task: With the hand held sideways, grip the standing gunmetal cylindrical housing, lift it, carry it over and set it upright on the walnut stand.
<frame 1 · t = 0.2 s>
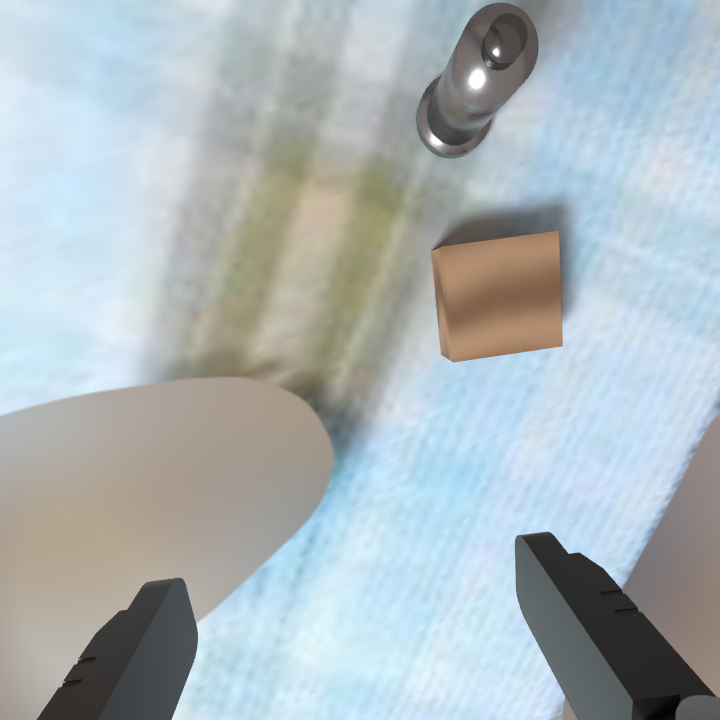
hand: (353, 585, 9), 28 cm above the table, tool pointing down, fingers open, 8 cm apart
stand: (486, 296, 37), on the table
housing: (452, 119, 33), on the table
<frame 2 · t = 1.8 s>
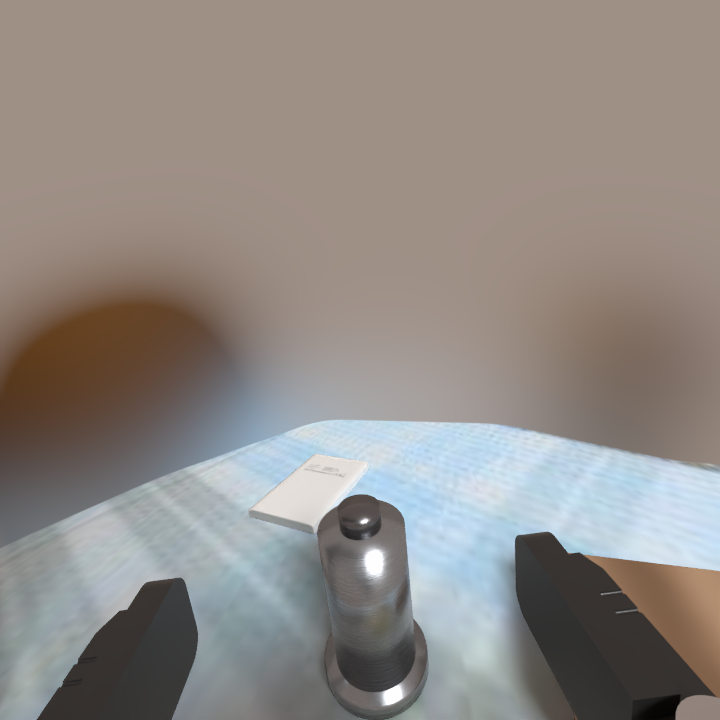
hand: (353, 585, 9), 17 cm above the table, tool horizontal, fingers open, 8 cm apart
external hard drive: (315, 496, 43), on the table
stand: (666, 690, 21), on the table
housing: (377, 661, 24), on the table
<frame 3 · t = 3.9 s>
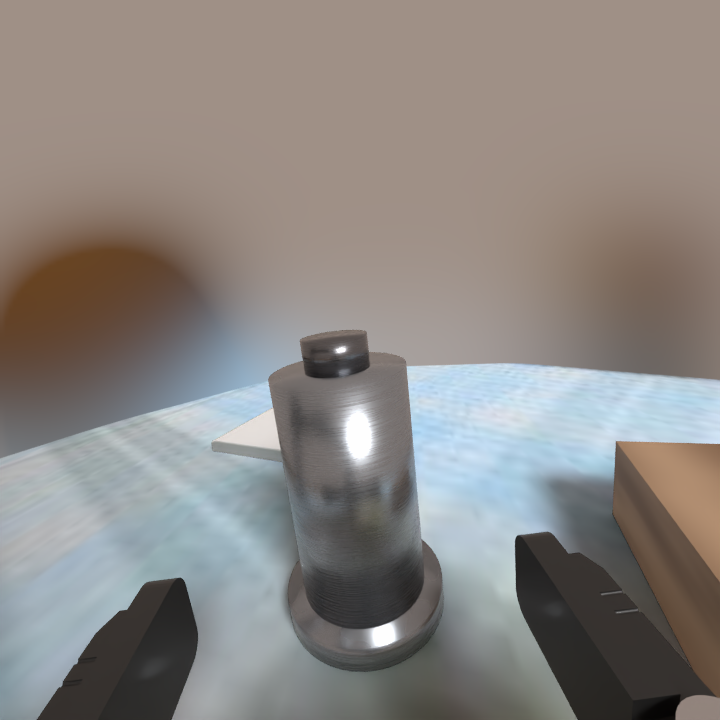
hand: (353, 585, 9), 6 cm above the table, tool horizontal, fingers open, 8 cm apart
external hard drive: (296, 432, 36), on the table
housing: (367, 593, 16), on the table
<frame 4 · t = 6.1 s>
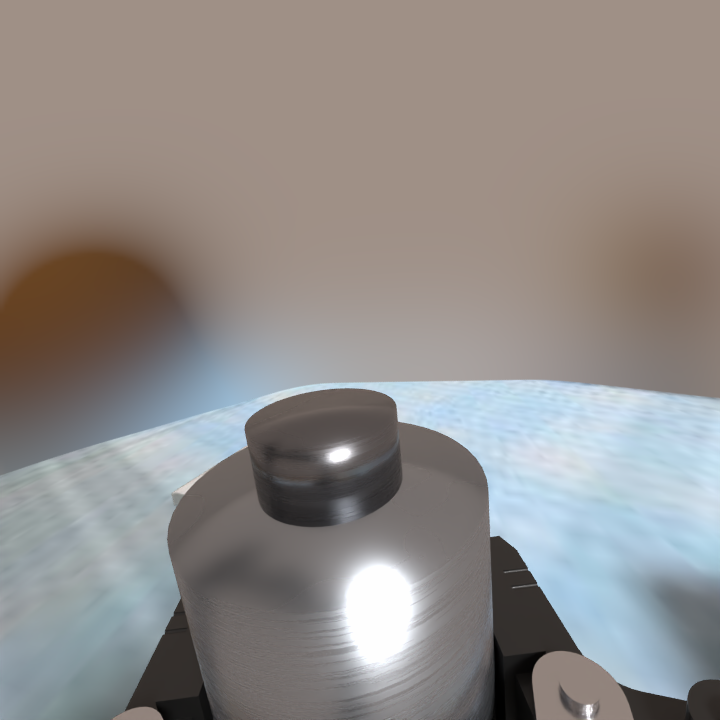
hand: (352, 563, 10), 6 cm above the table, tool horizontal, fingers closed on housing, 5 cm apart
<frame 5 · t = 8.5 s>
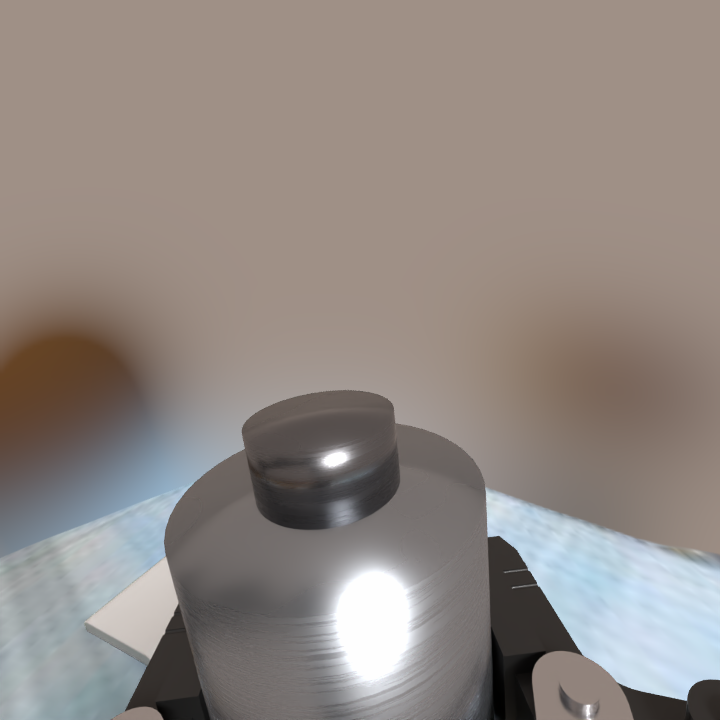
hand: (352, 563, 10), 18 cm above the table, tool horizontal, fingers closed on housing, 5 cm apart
external hard drive: (189, 590, 33), on the table
when the fingers open (11 cm above the table, at t = 10.9 s): housing drops 1 cm, resting on stand.
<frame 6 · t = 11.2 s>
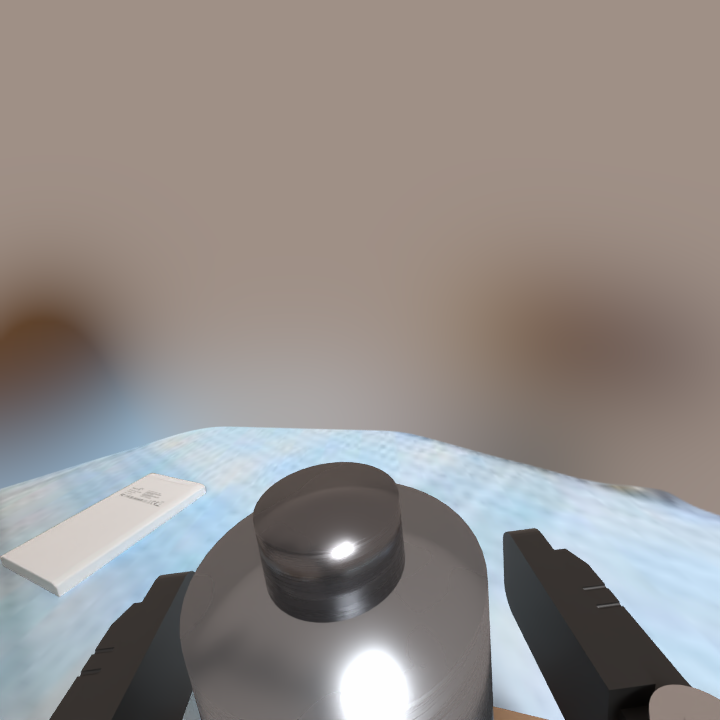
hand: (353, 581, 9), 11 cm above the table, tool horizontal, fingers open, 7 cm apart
external hard drive: (118, 533, 32), on the table
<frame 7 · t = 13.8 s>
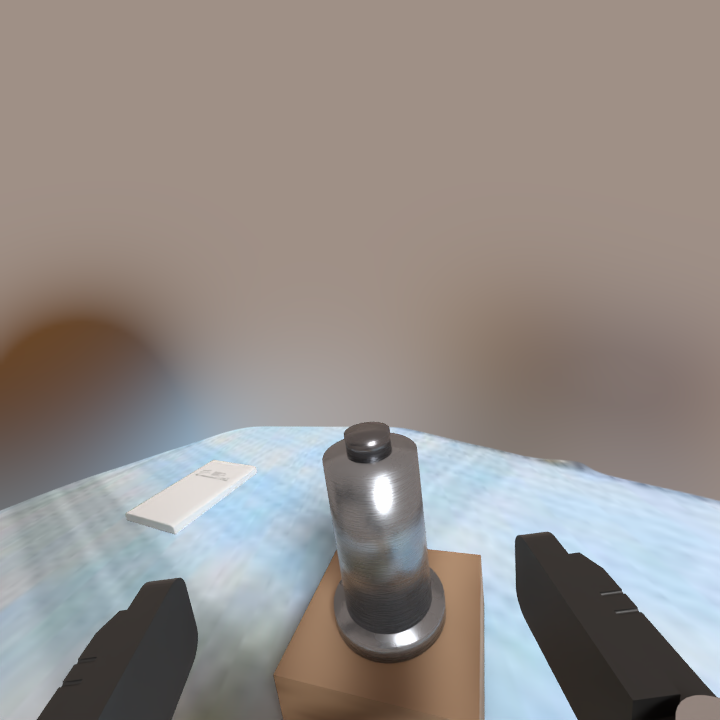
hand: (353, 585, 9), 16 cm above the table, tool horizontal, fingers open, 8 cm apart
external hard drive: (198, 500, 46), on the table
stand: (398, 661, 23), on the table
housing: (390, 608, 22), point 4 cm above the table, touching stand
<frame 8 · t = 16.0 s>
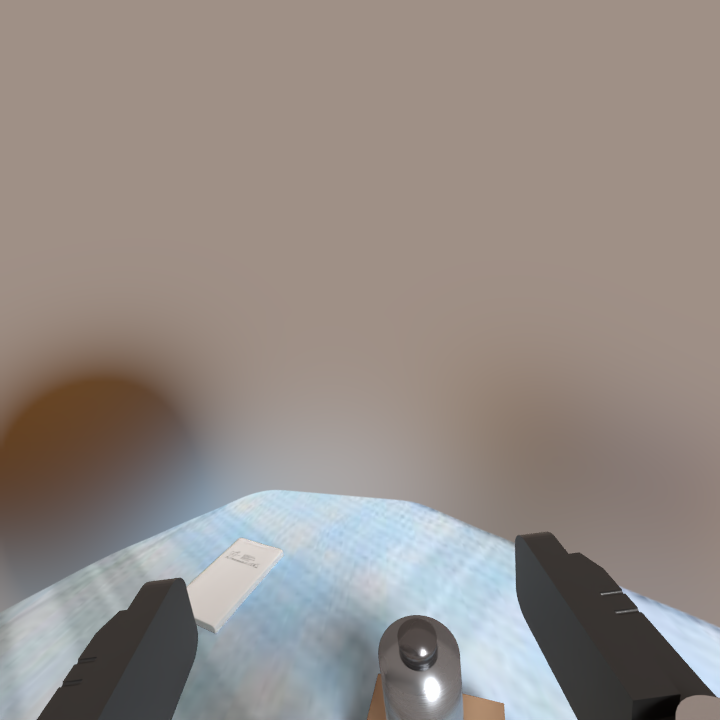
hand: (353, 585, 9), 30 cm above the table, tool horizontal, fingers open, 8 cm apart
external hard drive: (230, 586, 49), on the table
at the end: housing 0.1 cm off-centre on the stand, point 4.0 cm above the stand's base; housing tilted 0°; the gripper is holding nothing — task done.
